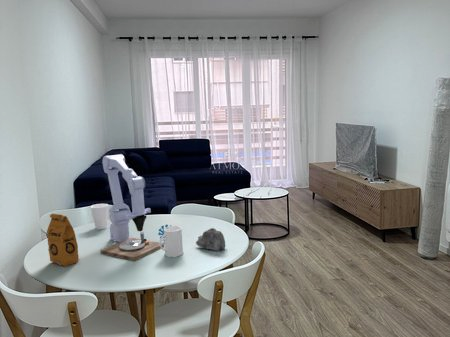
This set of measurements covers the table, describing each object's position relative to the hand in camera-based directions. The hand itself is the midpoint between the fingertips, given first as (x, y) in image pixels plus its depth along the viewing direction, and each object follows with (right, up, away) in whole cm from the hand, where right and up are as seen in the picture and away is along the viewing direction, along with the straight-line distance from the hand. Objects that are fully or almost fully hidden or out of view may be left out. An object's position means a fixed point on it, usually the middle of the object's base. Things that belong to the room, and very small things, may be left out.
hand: (139, 230), depth 187 cm
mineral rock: (+34, -8, 0) cm, 35 cm away
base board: (-4, -9, +2) cm, 10 cm away
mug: (+16, -10, -7) cm, 20 cm away
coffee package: (-31, -13, -11) cm, 35 cm away
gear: (+12, -7, +13) cm, 19 cm away
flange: (-3, -7, +2) cm, 8 cm away
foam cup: (-31, -5, +40) cm, 51 cm away
